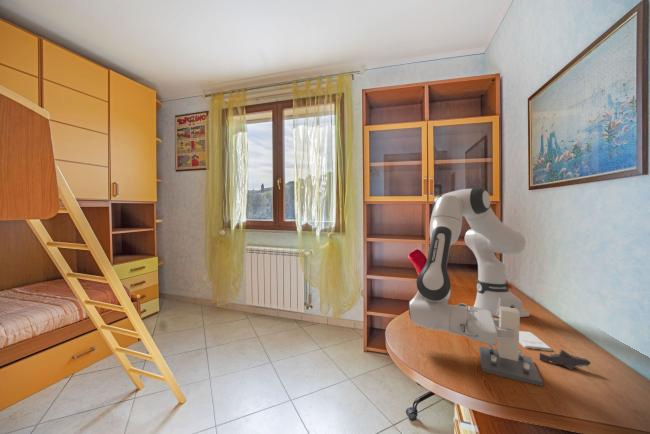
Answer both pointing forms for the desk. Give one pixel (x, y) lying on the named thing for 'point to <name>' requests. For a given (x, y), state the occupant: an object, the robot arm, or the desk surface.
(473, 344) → the desk surface
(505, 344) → the cream column
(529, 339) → the external hard drive
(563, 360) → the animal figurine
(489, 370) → the plate
